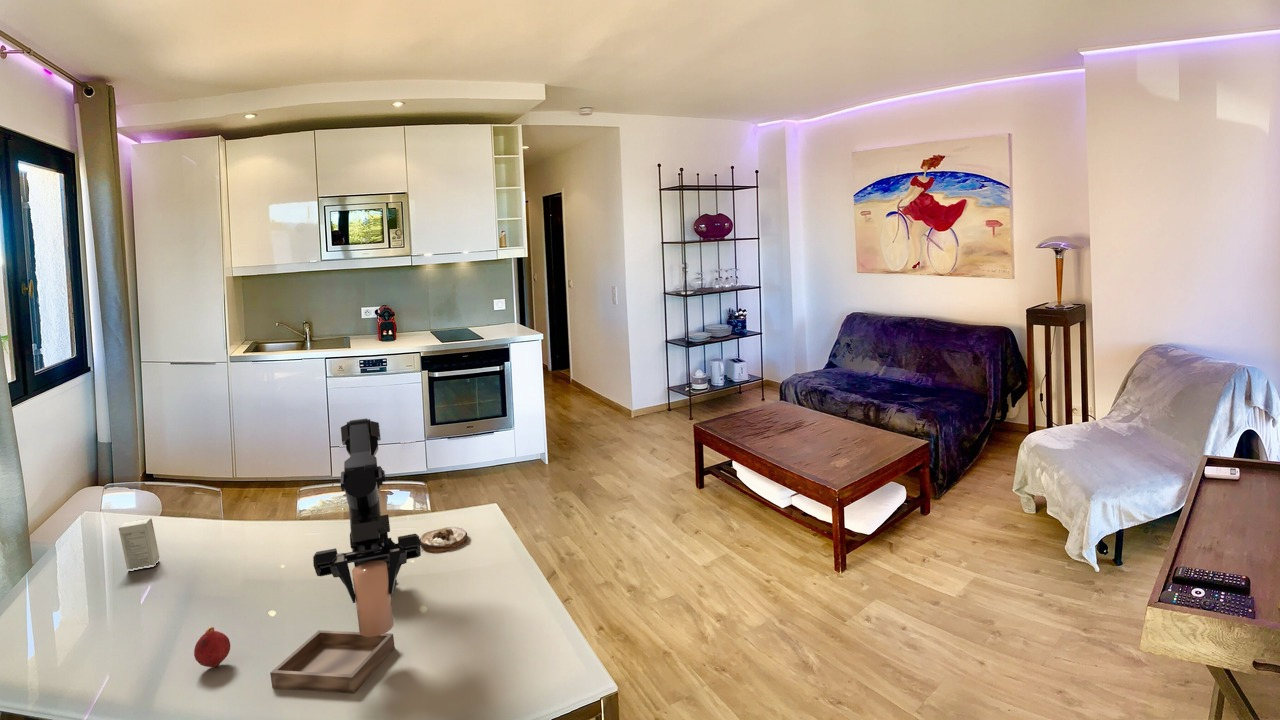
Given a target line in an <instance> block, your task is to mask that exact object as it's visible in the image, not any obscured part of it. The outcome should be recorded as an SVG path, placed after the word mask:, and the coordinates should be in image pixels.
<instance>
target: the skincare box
mask: <svg viewBox="0 0 1280 720" xmlns="http://www.w3.org/2000/svg"><path fill="white" fill-rule="evenodd" d="M152 519H153V518H152V517H149V518H144V519H137V520H136V519H135V520H130V521H125V522H123V523H122V524H121V525H120V526H119V527H118V532H119V536H120V541H121V546H122V550H123V556H124V560H125V564H126V570H127V569H133V568H138V567H144V566H149V565H155V563H156V562H157V561H158V560H159V558H160V553H159V548H158V543H157V539H156V533H155V528H154V523H153V520H152Z"/></svg>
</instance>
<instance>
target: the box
mask: <svg viewBox="0 0 1280 720" xmlns="http://www.w3.org/2000/svg"><path fill="white" fill-rule="evenodd" d="M395 648H396V647H395V638H394V633H387V632H386V633H384V634H381V635H378V636H373V637H366V636H362V635H361V634H360V632H359V631H341V630H340V631H339V630H317V631H316V632H315V633H314V634H312V635H311V637H309V638H308V639H307V640H306V641H305V642H304V643H302V644H301V645H300V646H299V647H298V648H296V649H295V650H294V651H293V652H292V653H291V654H290V655H289V656H287V657H286V658H285V659H284V660H283V661H282V662H281V663H280V664H278V665H277V666H276V667H275V668H274V669H272V670H271V671H270V675H269V676H270V681H271V688H272V689H279V690H280V689H282V690H283V689H285V690H299V691H315V692H330V693H331V692H332V693H333V692H334V693H346V694H355V693H356V691H358V689H360V687H361V686H362V685H363V684H364V683H365V682H366V680H367V679H368V678H369V677H371V676H372V674H373V673H374V671H376V669H377V668H378V667H379V666H380V665H381V664H382V663H383V662H384V661H385V659H386V658H388V656H389V655H390V654H391V653H392V652H393V651H394V650H395Z"/></svg>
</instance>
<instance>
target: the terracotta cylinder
mask: <svg viewBox="0 0 1280 720" xmlns="http://www.w3.org/2000/svg"><path fill="white" fill-rule="evenodd" d="M351 574H352V584H353V589H354V593H355V606H356V614H357V621H358V622H357V624H358V630H359V631H358V632H360V634H361V635H362V636H366V637H373V636H378V635H381V634H384V633H387V632H389V631H390V630H392V629H393V627H394V616H393V608H392V599H391V595H390V592H389V579H388V571H387V563H386V562H384V561H379V560H376V561H368V562H365V563H362V564H359V565H357V566H356V567H355V566H354V567H353V568H352V569H351Z"/></svg>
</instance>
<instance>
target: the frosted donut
mask: <svg viewBox="0 0 1280 720" xmlns="http://www.w3.org/2000/svg"><path fill="white" fill-rule="evenodd" d="M467 536H468V533H467V531H466V530H465V529H463V528H462V527H458V526H449V527H447V526H446V527H443V528H439V529H434V530H430V531H427V532H424V533H423V534H422V535H421V536H419V539H420V548H421V549H422V550H421V552H428V553H439V552H440V553H441V552H447V551H451V550H453V549H456V548H458V547H460V546H463V545H464V544H465V543H467V541H468V537H467ZM463 543H464V544H463ZM462 544H463V545H462ZM450 549H451V550H450Z"/></svg>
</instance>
